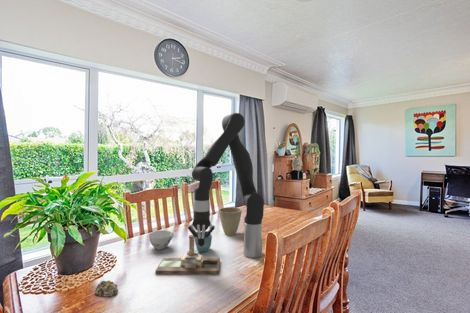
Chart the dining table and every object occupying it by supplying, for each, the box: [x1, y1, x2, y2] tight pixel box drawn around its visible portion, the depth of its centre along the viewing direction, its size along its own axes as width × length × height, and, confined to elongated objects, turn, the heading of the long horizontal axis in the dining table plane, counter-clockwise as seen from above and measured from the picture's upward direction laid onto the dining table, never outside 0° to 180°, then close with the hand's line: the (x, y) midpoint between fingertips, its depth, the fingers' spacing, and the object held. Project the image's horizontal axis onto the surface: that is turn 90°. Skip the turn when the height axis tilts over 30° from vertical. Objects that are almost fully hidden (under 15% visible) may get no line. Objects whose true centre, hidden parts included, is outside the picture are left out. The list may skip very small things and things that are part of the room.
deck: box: [154, 250, 221, 275], centre depth 119 cm, size 28×13×6 cm, turn 91°
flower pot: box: [194, 230, 213, 253], centre depth 139 cm, size 9×9×9 cm
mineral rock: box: [94, 280, 119, 298], centre depth 99 cm, size 11×4×8 cm
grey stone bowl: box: [148, 229, 174, 251], centre depth 143 cm, size 15×12×8 cm
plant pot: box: [218, 206, 243, 237], centre depth 166 cm, size 15×15×16 cm
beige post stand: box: [180, 234, 203, 266], centre depth 119 cm, size 9×5×13 cm, turn 91°
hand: (201, 245), depth 119 cm, fingers closed
